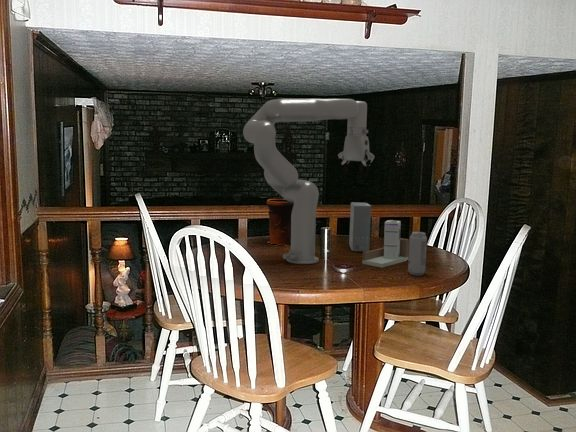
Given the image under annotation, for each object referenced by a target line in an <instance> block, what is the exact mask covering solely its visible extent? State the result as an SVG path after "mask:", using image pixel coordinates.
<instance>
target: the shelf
mask: <svg viewBox="0 0 576 432" xmlns="http://www.w3.org/2000/svg"><path fill="white" fill-rule="evenodd" d="M409 242H410V238H409V239H408V238H403V237H402V238H401V237H400V256H399V258H398V259H392V258H384V247H380V248H377V249H376V248H375V249H372V250H369V251H367V252H365V251H362V263H361V264H362V265H367V266H372V267H377V268H385V267H389V266H392V265H397V264H400V263H403V262H407V260H408V261H409Z"/></svg>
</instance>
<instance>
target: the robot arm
mask: <svg viewBox="0 0 576 432" xmlns="http://www.w3.org/2000/svg"><path fill="white" fill-rule="evenodd" d="M367 114H368V103H367V102H366V101H365V100H364V101H363V100H362V101H361V100H355V99H353V98H313V97H312V98H277V99H270V100H268V101H266V102H265V103H264V104H263V105H262V106H261V107H260V108H259V109H258V110H257V111H256V113H254V114H253V116H252V117H250V119H249V120H248V121H247V122H246V123H245V124H244V127H243V130H242V134H243V138H244V140H246V141H247V142H248V143H250V144H253V152H254V158H255V160H256V162H257V163H258V164H259V166H261V167H262V169H263V170H264V171H263V175H264V179H265V181H266V183H267V184H268V185H269V186H270V187H271V188H272V189H273V190H275V192H277V193H278V195H280V197H282V199H285V200H287V201H289V202H292V203H294V206H293V209H292V214H291V245H290V249H289V250H288V252H287V253H283V254H282V259H284V260H286V261H287V263H290V264H296V265H311V264H312V265H313V264H317V263H318V262H319V257H317V256H315V255H316V224H317V222H316V221H317V220H316V219H317V217H316V216H317V207H318V202H319V197H320V196H319V195H320V193H319V189H318V187H317V185H316V184H315V183H314V182H312V181H309V180H307V179H306V180H305V179H299V174H298V170H297V169H296V166H294V165H293V164H292V163H291V162H290V161H288V159H287V158H286V157H285V156H284V155H283V154H282V153H281V152H279V150H278V148H277V146H276V135H277V133H276V132H277V131H276V127H275V124H276V123H287V122H288V123H289V122H290V123H291V122H293V123H294V122H317V121H318V122H319V121H325V120H347V128H346V130H347V131H346V136H345V139H344V145H343V151H341V152H339V153H338V154H337V156H338V159H339V162H340V163H341V166H342V175H343V176H348V175H349V163H350V162H361V164H363V165H362V171H361V173H362V174H361V176H362V177H368V176H369V171H370V170H369V167H370V166H371V164H372V163H374V162H373V161H374V159H375V155H374V154H373V153H372V152H370V141H369V136H367V134H368V133H369V129H367V119H368V118H367V117H368V115H367Z"/></svg>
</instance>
